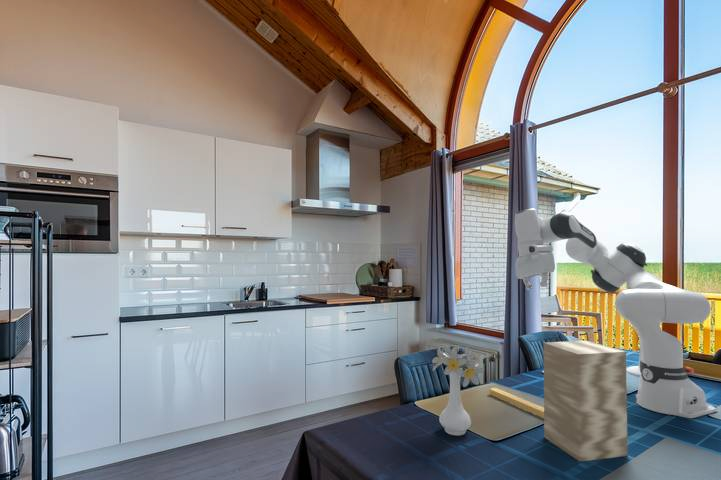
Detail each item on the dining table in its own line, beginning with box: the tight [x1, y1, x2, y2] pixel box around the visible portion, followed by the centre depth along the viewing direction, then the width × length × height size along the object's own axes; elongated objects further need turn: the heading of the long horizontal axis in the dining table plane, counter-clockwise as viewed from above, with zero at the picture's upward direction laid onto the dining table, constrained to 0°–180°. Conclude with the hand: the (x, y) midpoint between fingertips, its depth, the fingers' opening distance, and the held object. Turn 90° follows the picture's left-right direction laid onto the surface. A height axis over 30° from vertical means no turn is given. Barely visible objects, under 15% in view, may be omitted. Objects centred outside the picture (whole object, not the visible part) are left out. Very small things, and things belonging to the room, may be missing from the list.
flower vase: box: [431, 343, 485, 436], centre depth 113 cm, size 12×18×24 cm
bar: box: [488, 387, 544, 419], centre depth 133 cm, size 3×24×2 cm, turn 26°
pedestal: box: [543, 340, 629, 463], centre depth 105 cm, size 14×13×26 cm
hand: (536, 288), depth 145 cm, fingers open, 8 cm apart
